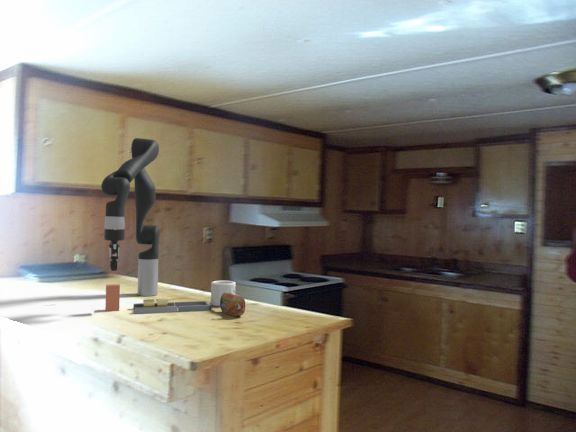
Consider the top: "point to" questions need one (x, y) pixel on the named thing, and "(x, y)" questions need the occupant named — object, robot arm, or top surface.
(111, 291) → the pink rectangular block
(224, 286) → the mug
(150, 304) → the tan cubic piece
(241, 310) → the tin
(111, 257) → the robot arm
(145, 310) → the slot bed
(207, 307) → the tray
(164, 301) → the khaki cube
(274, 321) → the top surface
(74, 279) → the top surface
